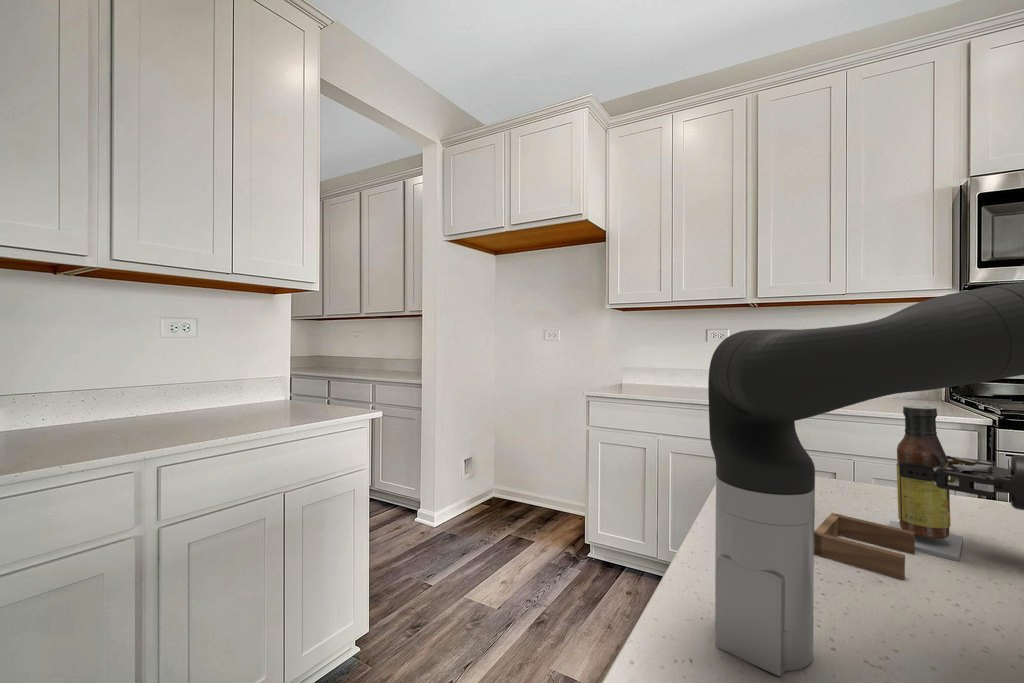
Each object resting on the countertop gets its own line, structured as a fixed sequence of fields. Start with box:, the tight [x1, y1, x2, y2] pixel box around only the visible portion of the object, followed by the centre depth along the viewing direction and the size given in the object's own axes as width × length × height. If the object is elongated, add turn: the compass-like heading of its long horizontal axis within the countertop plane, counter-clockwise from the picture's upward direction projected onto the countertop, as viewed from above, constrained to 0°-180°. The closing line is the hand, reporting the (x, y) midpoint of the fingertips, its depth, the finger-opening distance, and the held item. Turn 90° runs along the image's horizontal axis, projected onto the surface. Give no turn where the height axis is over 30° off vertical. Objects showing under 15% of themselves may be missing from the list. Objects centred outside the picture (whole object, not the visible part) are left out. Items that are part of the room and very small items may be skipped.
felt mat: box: [887, 520, 964, 562], centre depth 75 cm, size 10×9×1 cm
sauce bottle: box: [895, 405, 952, 539], centre depth 74 cm, size 7×6×20 cm
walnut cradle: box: [814, 512, 916, 581], centre depth 71 cm, size 12×11×3 cm
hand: (903, 465), depth 76 cm, fingers open, 6 cm apart
